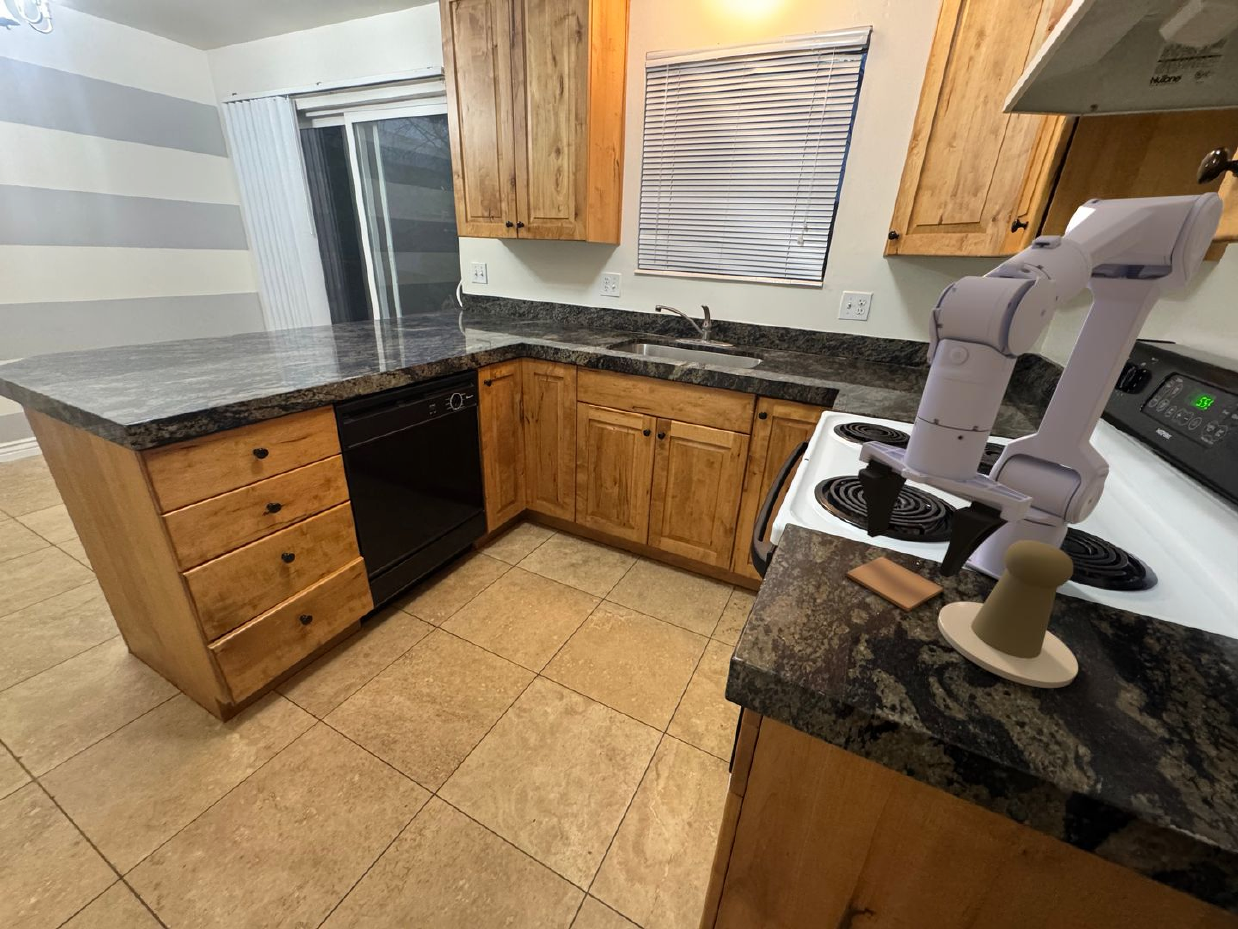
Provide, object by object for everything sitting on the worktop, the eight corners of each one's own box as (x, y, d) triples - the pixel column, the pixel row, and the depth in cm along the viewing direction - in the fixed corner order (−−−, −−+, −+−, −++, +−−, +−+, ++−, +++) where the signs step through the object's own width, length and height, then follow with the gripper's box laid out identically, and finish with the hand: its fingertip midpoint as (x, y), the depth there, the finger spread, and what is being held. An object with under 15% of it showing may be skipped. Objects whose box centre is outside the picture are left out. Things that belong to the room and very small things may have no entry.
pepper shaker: (1054, 663, 49) (1101, 570, 45) (986, 652, 50) (1027, 559, 46) (1021, 623, 55) (1060, 537, 50) (961, 614, 56) (995, 528, 51)
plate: (967, 595, 60) (969, 590, 60) (1093, 659, 51) (1096, 653, 51) (915, 628, 54) (917, 622, 54) (1048, 707, 45) (1051, 701, 45)
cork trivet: (880, 559, 67) (881, 556, 67) (942, 591, 61) (943, 588, 61) (845, 575, 63) (846, 572, 63) (907, 612, 57) (908, 608, 56)
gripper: (853, 403, 48) (823, 526, 53) (1022, 455, 36) (963, 606, 41) (898, 398, 51) (866, 514, 56) (1067, 444, 39) (1007, 585, 45)
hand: (910, 552), depth 49 cm, fingers open, 7 cm apart
